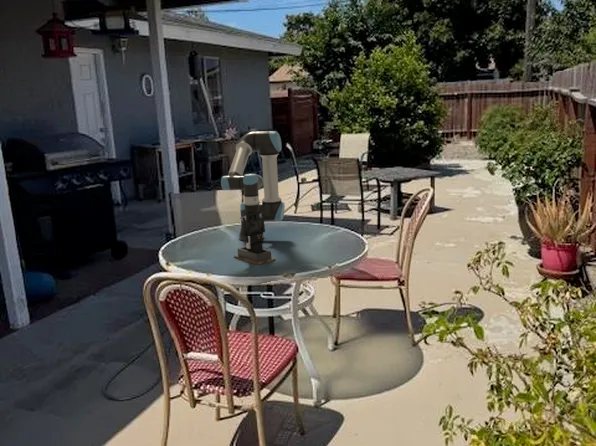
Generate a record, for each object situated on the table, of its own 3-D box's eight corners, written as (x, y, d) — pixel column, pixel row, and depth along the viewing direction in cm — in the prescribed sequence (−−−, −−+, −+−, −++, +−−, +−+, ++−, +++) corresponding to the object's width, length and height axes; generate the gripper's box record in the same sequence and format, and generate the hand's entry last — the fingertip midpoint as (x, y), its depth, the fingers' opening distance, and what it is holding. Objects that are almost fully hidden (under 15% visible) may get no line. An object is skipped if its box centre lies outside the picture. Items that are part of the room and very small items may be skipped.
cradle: (251, 252, 304) (251, 245, 303) (271, 258, 290) (271, 251, 289) (237, 255, 298) (237, 248, 297) (257, 262, 284) (256, 254, 284)
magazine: (260, 257, 285) (254, 230, 288) (249, 263, 296) (243, 236, 298) (267, 256, 287) (260, 229, 290) (255, 262, 298) (249, 236, 300)
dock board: (252, 253, 306) (252, 251, 306) (275, 260, 290) (275, 258, 290) (234, 257, 299) (234, 255, 298) (256, 265, 283) (256, 263, 282)
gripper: (240, 207, 279) (242, 251, 284) (271, 202, 291) (272, 245, 296) (232, 205, 285) (234, 249, 290) (262, 200, 297) (264, 242, 302)
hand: (253, 247), depth 293 cm, fingers open, 6 cm apart
